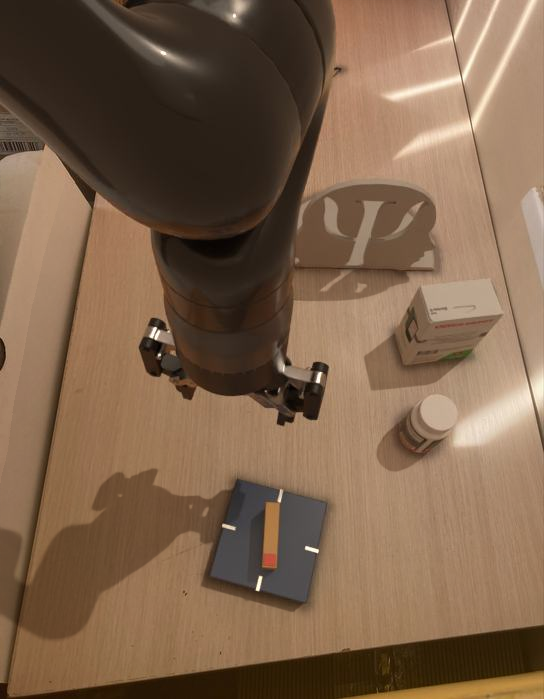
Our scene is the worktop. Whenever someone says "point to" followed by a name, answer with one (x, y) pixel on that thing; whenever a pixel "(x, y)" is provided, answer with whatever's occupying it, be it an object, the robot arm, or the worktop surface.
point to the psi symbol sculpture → (367, 227)
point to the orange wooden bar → (270, 536)
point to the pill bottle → (428, 423)
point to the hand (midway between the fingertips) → (236, 402)
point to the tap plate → (247, 541)
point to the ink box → (447, 320)
